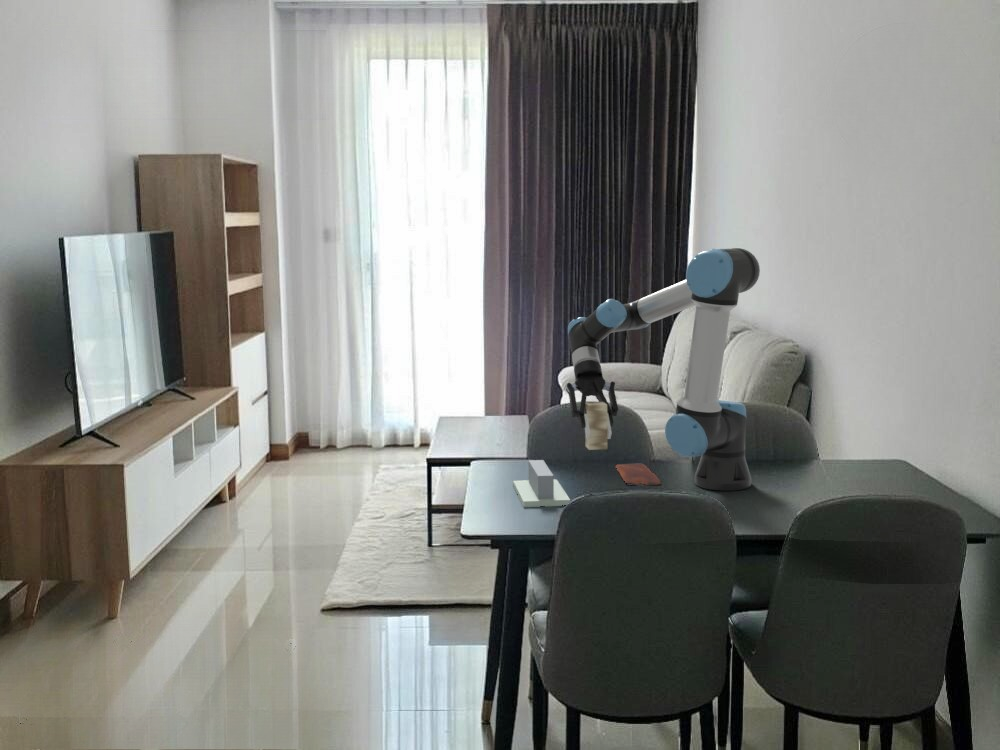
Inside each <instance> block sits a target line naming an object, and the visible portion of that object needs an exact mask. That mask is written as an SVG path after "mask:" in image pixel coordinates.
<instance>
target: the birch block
mask: <svg viewBox="0 0 1000 750" xmlns="http://www.w3.org/2000/svg"><path fill="white" fill-rule="evenodd" d="M584 414H587V416H588V422H589V428H590V438H589V440H586V434H585V433H584V436H585V443H584V444H585V448H587V449H588V451H592V450H593V451H594V450H596V451H597V450H599V451H600V450H608V438H607V404H606V403H604V402H599V401H593V402H592V401H591V402H590V401H589V402H587V401H586V402H585V411H584Z"/></svg>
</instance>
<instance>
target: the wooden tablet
mask: <svg viewBox="0 0 1000 750" xmlns="http://www.w3.org/2000/svg"><path fill="white" fill-rule="evenodd" d="M647 467H648V466H647V465H645V463H640V462H637V463H621V464H616V465H615V469H616V468H617V469H616V470H617V472H618V473H619V475H620V477H621V478H622V480H623V482H624V481H625V482H624V483H625V484H626V483H627V484H632V485H637V484H640V483H642V484H645V485H658V486H660V485H661V484H662V483H661V481H660V479H659V478H658V476H656V474H655V473H654V472H653V471H652V470H651V469H650V468H649V467H648V468H647ZM650 470H651V471H652V472H653V473H652V472H651V471H650ZM645 485H644V486H645Z"/></svg>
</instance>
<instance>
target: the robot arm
mask: <svg viewBox="0 0 1000 750" xmlns="http://www.w3.org/2000/svg"><path fill="white" fill-rule="evenodd" d="M760 273H761V269H760V263H759V261H758V258H756V256H755V255H754V254H753V253H751V252H750V251H749V250H747V249H745V248H739V247H737V248H735V247H732V248H712V249H711V248H710V249H708V250H704V251H701V252H699V253H697V254H696V255H695V256H694V257H692V259H691V260H690V262H689V264H688V265H687V268H686V273H685V279H683V280H682V281H678V282H677V283H674V284H673V285H670V286H667V287H664V288H662V289H660V290H658V291H656V292H654V293H653V292H652V293H650V294H648V295H647V296H643V297H642V298H640V299H637V300H635V301H632V302H629V303H624V304H623V303H622V302H620V301H619V300H616V299H615V298H608V299H606V301H604V302H603V303H601V304H599V305H598V307H596V308H595V310H594V311H593V312H592V313H590V314H589V315H588V316H587V317H583V316H580V317H577V318H576V319H572V320H571V321H570V322H569V323H568V326H567V339H568V342H569V347H570V354H571V360H572V365H573V366H572V367H573V372H574V373H573V374H574V377H575V378H574V379H575V381H574V382H573V383H570V382H567V384H566V387H565V388H566V389H565V390H566V393H567V395H568V398H569V405H570V412H571V417H572V418H578V420H579V423H580V424H579V425H580V428H581V429H584V435H585V434H586V440H589V438H590V428H589V422H588V416H587V414H585V402H587V397H591V396H594V397H595V398H596V400H597V402H604V403H606V404H607V440H611V438H612V427H613V426H614V418H613V417H616V416H617V414H618V412H619V407H618V401H617V397H616V392H615V385H616V383H615V381H611V382H608V381H606V380H605V379H604V377H603V371H602V370H603V369H602V366H601V361H600V354H599V349H598V345H599V343H600V342H602V341H603V340H605V338H606V337H608V336H609V335H610V334H611V333H618V332H626V331H631V330H634V331H637V330H641V329H645V328H647V327H649V326H650V325H651V324H652V323H655V322H657V321H659V320H660V321H661V320H662V319H664V318H667V317H670V316H672V315H675V314H677V313H681V312H682V311H684V310H687V309H690V308H693V307H695V314H694V321H693V327H692V335H691V336H692V337H691V342H690V348H689V349H690V350H689V356H688V357H689V358H688V364H687V371H686V378H685V379H686V380H685V384H684V385H685V387H684V393H683V396H682V397H681V398H680V399H678V400H677V402H676V407H675V413H674V414H673V415H672V416H670V417H669V418H668V420H667V422H666V424H665V428H664V431H665V432H664V434H665V439H666V441H667V444H668V445H669V446H670V449H671V450H672V451H673V452H675V453H676V454H677V455H680V456H681V457H686V458H692V457H700V458H699V459H700V460H699V462H698V465H697V468H696V471H695V473H694V485H695V486H697V487H699V488H702V489H705V490H706V489H707V490H713V491H723V492H724V491H726V492H728V491H740V490H745V489H746V490H747V489H749V488H750V487H751V486H752V476H751V473H750V470H749V465H748V463H747V460H746V440H747V439H746V435H747V432H746V431H747V408H746V405H745V404H743V403H742V402H738V401H730V400H729V401H728V400H718V396H719V391H720V390H719V389H720V383H721V376H722V370H723V362H724V355H725V349H726V342H727V334H728V328H729V322H730V321H729V320H730V315H731V314H730V313H731V310H733V309H734V308H736V307H737V306H738V302H739V297H740V295H739V294H741V293H745V292H748V291H749V290H751V289H752V288H753V287H754V286H755V285H756V284H757V282H758V280H759V277H760ZM604 388H605V389H606V392H608V398H609V402H608V400H607V398H606V396H605V394H604V392H603V389H604ZM576 390H578V391H579V393H581V399H580V406H579V410H578V406H577V399H576Z"/></svg>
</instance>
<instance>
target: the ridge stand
mask: <svg viewBox="0 0 1000 750" xmlns="http://www.w3.org/2000/svg"><path fill="white" fill-rule="evenodd" d="M512 485H513V486H514V487H513V486H512V487H513V489H514V488H515V489H514V491H515V490H516V491H515V492H517V493H516V495H517V494H518V495H517V497H518V499H519V501H520V503H521V505H522V507H523V508H537V507H539V508H540V506H545V507H563V506H564V505H566V504H567V503H568V502H569V501H570V502H571V498H570V497H569V496H568V494H567V493H566V491H565V489H564V488H563V486H562V485H561V484H560V482H559V480H558V479H555V477H554V473H552V471H551V470H550V468H549V467H548V465H547V464H546V462H545V460H544V459H530V460H528V480H527V479H526V480H525V479H523V480H512ZM562 505H563V506H562ZM564 507H565V506H564Z"/></svg>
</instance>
